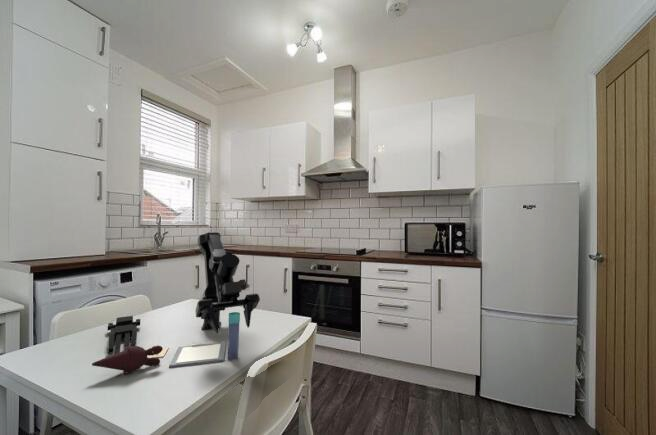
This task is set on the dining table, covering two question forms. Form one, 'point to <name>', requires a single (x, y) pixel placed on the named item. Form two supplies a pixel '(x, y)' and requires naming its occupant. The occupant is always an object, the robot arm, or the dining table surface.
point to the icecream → (130, 359)
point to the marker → (233, 335)
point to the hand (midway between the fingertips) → (233, 329)
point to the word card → (159, 354)
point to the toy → (122, 333)
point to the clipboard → (198, 354)
